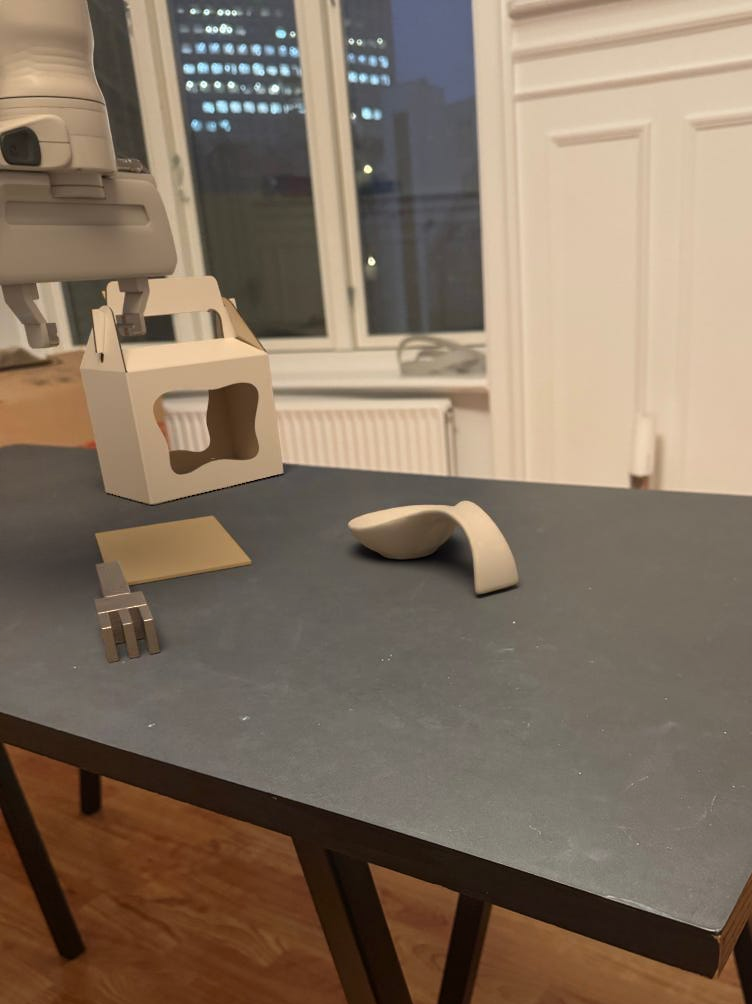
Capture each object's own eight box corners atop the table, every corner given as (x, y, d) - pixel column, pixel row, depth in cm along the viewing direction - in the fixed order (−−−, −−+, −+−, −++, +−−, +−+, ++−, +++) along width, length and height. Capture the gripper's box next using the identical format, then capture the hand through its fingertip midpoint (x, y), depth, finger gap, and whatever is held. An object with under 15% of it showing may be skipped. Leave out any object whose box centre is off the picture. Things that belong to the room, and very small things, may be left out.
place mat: (252, 564, 97) (251, 560, 97) (112, 588, 92) (111, 584, 91) (213, 518, 115) (213, 515, 115) (95, 536, 110) (94, 533, 110)
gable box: (236, 464, 146) (207, 275, 135) (286, 474, 138) (259, 273, 127) (103, 493, 131) (59, 284, 120) (150, 506, 123) (107, 282, 112)
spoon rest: (332, 550, 100) (325, 485, 98) (424, 529, 106) (420, 467, 103) (449, 607, 82) (443, 530, 79) (552, 578, 88) (551, 505, 85)
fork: (91, 594, 90) (85, 565, 89) (134, 587, 92) (128, 558, 90) (108, 663, 74) (101, 628, 73) (160, 652, 76) (153, 618, 74)
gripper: (121, 163, 80) (151, 330, 85) (-99, 144, 63) (-44, 355, 68) (178, 156, 77) (205, 329, 82) (-35, 135, 60) (16, 355, 65)
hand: (91, 341), depth 75 cm, fingers open, 8 cm apart
